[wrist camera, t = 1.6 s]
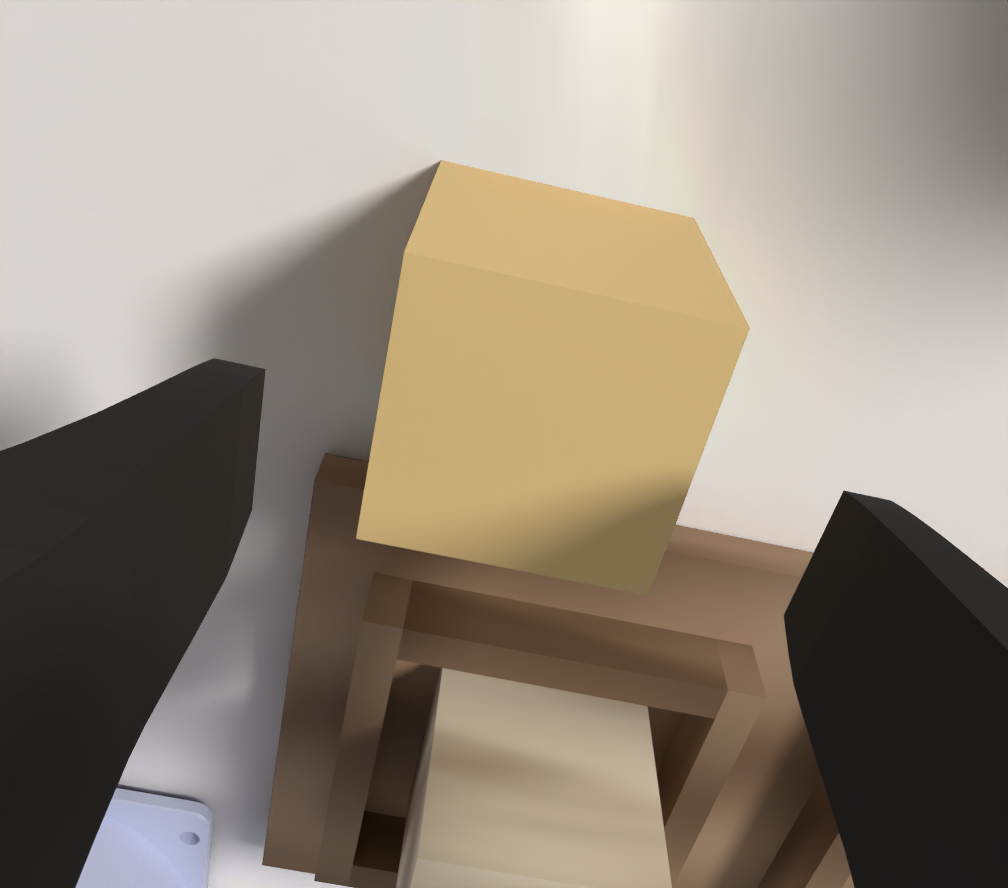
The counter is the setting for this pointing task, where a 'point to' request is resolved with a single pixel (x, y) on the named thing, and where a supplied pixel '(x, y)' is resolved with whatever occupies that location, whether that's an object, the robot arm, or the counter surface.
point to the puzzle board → (674, 598)
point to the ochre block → (547, 380)
